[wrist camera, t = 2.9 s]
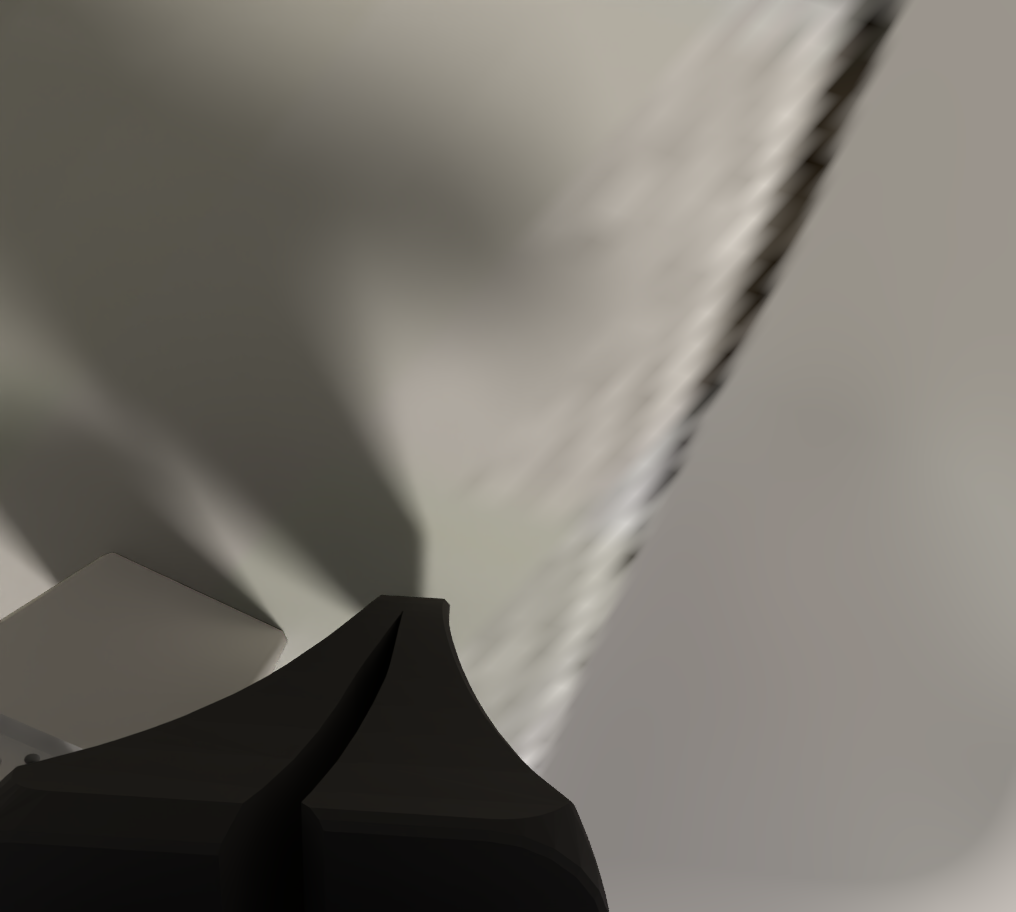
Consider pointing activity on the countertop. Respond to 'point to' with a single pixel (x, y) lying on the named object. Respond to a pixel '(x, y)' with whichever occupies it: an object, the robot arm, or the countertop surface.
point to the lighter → (119, 659)
